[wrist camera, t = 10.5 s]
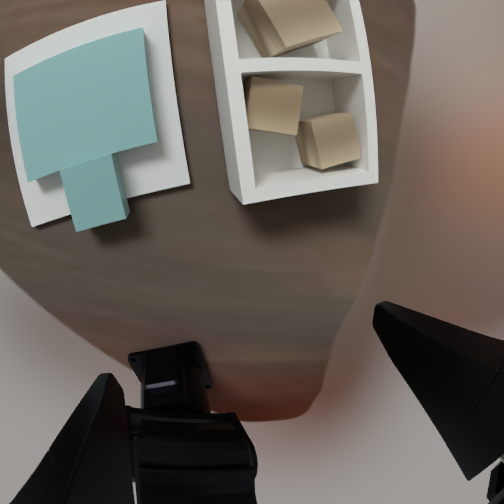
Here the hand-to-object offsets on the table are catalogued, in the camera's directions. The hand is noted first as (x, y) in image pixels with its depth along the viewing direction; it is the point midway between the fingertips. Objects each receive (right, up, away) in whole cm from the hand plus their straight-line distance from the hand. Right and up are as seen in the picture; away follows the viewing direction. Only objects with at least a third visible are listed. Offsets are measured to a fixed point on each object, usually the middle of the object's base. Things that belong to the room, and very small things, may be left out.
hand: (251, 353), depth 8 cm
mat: (-10, +12, +6) cm, 17 cm away
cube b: (+1, +12, +8) cm, 15 cm away
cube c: (+2, +18, +6) cm, 19 cm away
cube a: (+4, +11, +10) cm, 16 cm away
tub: (+2, +15, +8) cm, 17 cm away
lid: (-10, +11, +6) cm, 16 cm away
